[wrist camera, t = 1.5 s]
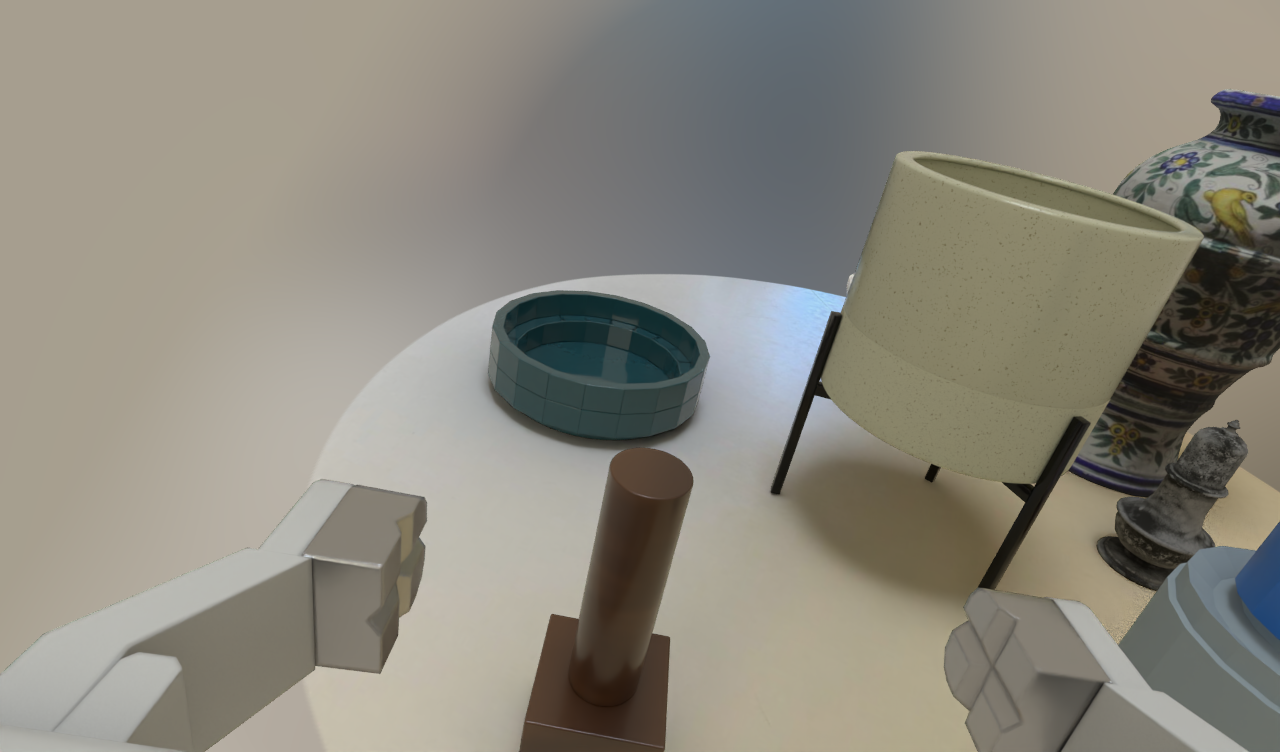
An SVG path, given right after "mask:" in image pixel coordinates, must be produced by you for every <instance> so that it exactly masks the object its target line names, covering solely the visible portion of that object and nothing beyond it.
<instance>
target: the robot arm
mask: <svg viewBox="0 0 1280 752" xmlns="http://www.w3.org/2000/svg"><path fill="white" fill-rule="evenodd" d="M426 522H427V501H426V499H425V498H424V497H421V496H416V495H410V494H405V493H399V492H394V491H389V490H383V489H378V488H372V487H367V486H361V485H353V484H349V483H343V482H337V481H331V480H326V479H320V480H318V481H315V482H314V483H312V484H311V486H310V487H309V488H308V489H307V491H306V492H305V493H304V494H303V496H302V497H301V498H300V499H299V500H298V501H297V503H296V504H295V505H294V506H293V507H292V509H291V510H290V511H289V512H288V513H287V515H286V516H285V517H284V518H283V519H282V521H281V522H280V523H279V524H278V526H277V527H276V528H275V529H274V530H273V532H272V533H271V534H270V535H269V536H268V538H267V539H266V540H265V541H264V543H263V544H262V545H261V546H260V547H259V548H258V549H254V548H245V549H242V550H240V551H238V552H235V553H233V554H231V555H228V556H226V557H223V558H221V559H219V560H216V561H214V562H212V563H209V564H207V565H204V566H202V567H200V568H197V569H195V570H193V571H190V572H188V573H186V574H183V575H181V576H179V577H176V578H174V579H172V580H169V581H167V582H164V583H162V584H160V585H157V586H155V587H153V588H150V589H148V590H146V591H143V592H141V593H138V594H136V595H134V596H132V597H129V598H127V599H124V600H122V601H120V602H117V603H115V604H113V605H110V606H108V607H105V608H103V609H101V610H98V611H96V612H94V613H92V614H89V615H87V616H84V617H82V618H79V619H77V620H75V621H73V622H70V623H68V624H65V625H63V626H61V627H58V628H56V629H54V630H51V631H49V632H46V633H44V634H43V635H42V636H41V637H40V638H39V639H37V640H36V641H35V642H34V643H33V644H32V645H31V646H30V647H29V648H28V649H27V650H26V651H24V652H23V653H22V654H21V655H20V656H19V657H18V658H17V659H16V660H15V661H14V662H13V663H12V664H10V665H9V666H8V667H7V668H6V669H5V670H4V671H3V672H2V673H1V674H0V752H205V751H206V750H208V749H209V748H210V747H212V746H213V745H214V744H216V743H217V742H218V741H220V740H221V739H222V738H224V737H225V736H226V735H228V734H229V733H230V732H232V731H233V730H234V729H236V728H237V727H239V726H240V725H241V724H242V723H244V722H245V721H247V720H248V719H249V718H251V717H252V716H253V715H254V714H256V713H257V712H258V711H260V710H261V709H263V708H264V707H265V706H267V705H268V704H269V703H271V702H272V701H273V700H275V699H276V698H277V697H279V696H280V695H282V694H283V693H284V692H285V691H287V690H288V689H290V688H291V687H292V686H293V685H295V684H296V683H298V682H299V681H300V680H302V679H303V678H304V677H306V676H307V675H308V674H310V673H311V672H312V671H314V670H315V666H322V667H330V668H338V669H346V670H354V671H362V672H370V673H379V674H380V673H381V671H382V669H383V667H384V665H385V662H386V660H387V658H388V656H389V654H390V652H391V650H392V647H393V645H394V643H395V641H396V639H397V637H398V627H399V617H401V616H402V615H404V614H406V613H407V612H409V611H410V609H411V606H412V604H413V602H414V599H415V597H416V594H417V591H418V588H419V584H420V581H421V577H422V572H423V566H424V560H425V545H424V543H423V542H422V541H421V539H420V538H419V536H420V534H421V532H422V530H423V528H424V526H425V524H426ZM963 608H964V611H965V613H966V616H967V619H968V621H966V622H965V623H963V624H962V625H960V626H958V627H957V628H955V629H954V630H952V633H951V635H950V637H949V640H948V642H947V644H946V647H945V657H944V669H945V675H946V680H947V683H948V685H949V688H950V690H951V692H952V695H953V696H954V697H955V698H956V699H957V700H958V701H959V702H960V703H961V704H962V705H963V706H964V707H966V708H967V709H968V710H969V713H968V716H967V719H966V721H965V724H966V726H967V729H968V731H969V733H970V735H971V738H972V740H973V742H974V744H975V746H976V749H977V751H978V752H1249V751H1247V750H1246V749H1244V748H1243V747H1242V746H1240V745H1239V744H1237V743H1236V742H1234V741H1233V740H1232V739H1230V738H1229V737H1227V736H1226V735H1224V734H1223V733H1221V732H1220V731H1219V730H1217V729H1216V728H1214V727H1213V726H1211V725H1210V724H1208V723H1207V722H1206V721H1204V720H1203V719H1201V718H1200V717H1198V716H1197V715H1195V714H1194V713H1193V712H1191V711H1190V710H1188V709H1187V708H1185V707H1184V706H1183V705H1181V704H1180V703H1178V702H1177V701H1175V700H1174V699H1172V698H1171V697H1170V696H1168V695H1167V694H1165V693H1164V692H1160V691H1154V690H1152V689H1151V688H1150V686H1149V685H1148V684H1147V683H1146V681H1145V680H1144V679H1143V677H1142V676H1141V675H1140V673H1139V672H1138V671H1137V669H1136V668H1135V667H1134V666H1133V664H1132V663H1131V662H1130V660H1129V659H1128V658H1127V656H1126V655H1125V654H1124V652H1123V651H1122V650H1121V649H1120V647H1119V646H1118V645H1117V643H1116V642H1115V641H1114V639H1113V638H1112V637H1111V635H1110V634H1109V633H1108V632H1107V630H1106V629H1105V628H1104V626H1103V625H1102V624H1101V622H1100V621H1099V620H1098V619H1097V617H1096V616H1095V615H1094V613H1093V612H1092V611H1091V609H1090V608H1089V607H1087V606H1085V605H1084V604H1082V603H1081V602H1079V601H1073V600H1065V599H1058V598H1050V597H1044V598H1042V597H1035V596H1029V595H1023V594H1016V593H1010V592H1004V591H997V590H991V589H985V588H977V589H976V590H975V591H974V592H972V593H971V594H970V596H969V597H968V599H967V601H966V603H965V605H964V607H963Z"/></svg>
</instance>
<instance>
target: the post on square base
mask: <svg viewBox="0 0 1280 752" xmlns="http://www.w3.org/2000/svg"><path fill="white" fill-rule="evenodd" d="M692 487H693V476H692V473H691V471H690V469H689V468H688V467H687V466H686V465H685V464H684V463H683V462H682V461H681V460H679V459H678V458H676V457H675V456H673V455H671V454H669V453H666V452H663V451H660V450H656V449H651V448H632V449H627V450H624V451H622V452H620V453H618V454H617V455H616V456H615V457H614V458H613V459H612V461H611V463H610V467H609V472H608V477H607V482H606V487H605V492H604V497H603V502H602V507H601V512H600V516H599V521H598V526H597V531H596V536H595V541H594V546H593V551H592V556H591V561H590V566H589V571H588V576H587V581H586V586H585V591H584V596H583V601H582V605H581V610H580V615H579V619H576V618H571V617H565V616H560V615H555V614H551V616H550V620H549V624H548V628H547V632H546V636H545V640H544V644H543V648H542V652H541V656H540V660H539V664H538V668H537V673H536V677H535V681H534V685H533V689H532V693H531V697H530V701H529V705H528V709H527V713H526V717H525V721H524V727H523V733H522V739H521V745H520V751H519V752H664V750H665V737H666V715H667V694H668V673H669V652H670V637H668V636H663V635H658V634H653V633H652V632H653V629H654V625H655V621H656V618H657V614H658V610H659V607H660V603H661V599H662V596H663V592H664V588H665V585H666V581H667V578H668V574H669V570H670V567H671V563H672V559H673V556H674V552H675V548H676V545H677V541H678V538H679V534H680V530H681V527H682V523H683V519H684V516H685V512H686V508H687V505H688V501H689V498H690V494H691V490H692Z"/></svg>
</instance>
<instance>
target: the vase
mask: <svg viewBox="0 0 1280 752" xmlns="http://www.w3.org/2000/svg"><path fill="white" fill-rule="evenodd" d="M1211 103H1213V104H1214V105H1215V106H1216V107H1217V108H1219V110H1220V113H1221V116H1220V121H1219V124H1218V126H1217V127H1216V129H1215V130H1213V131H1212V132H1211V133H1210V134H1209V135H1207V136H1205V137H1203V138H1201V139H1198V140H1195V141H1192V142H1189V143H1186V144H1182V145H1179V146H1176V147H1173V148H1170V149H1167V150H1165V151H1163V152H1161V153H1159V154H1156V155H1154V156H1152V157H1151V158H1149V159H1147V160H1146V161H1145V162H1143V163H1141V164H1139V165H1138V166H1137V167H1136V168H1135V169H1134V170H1133V171H1131V172H1130V173H1129V174H1128V175H1127V176H1126V177H1125V178H1124V180H1123V181H1122V182H1121V183H1120V185H1119V186H1118V188H1117V189H1116V190H1115V192H1114V194H1113V195H1116V196H1119V197H1122V198H1125V199H1128V200H1131V201H1134V202H1137V203H1140V204H1143V205H1146V206H1148V207H1151V208H1154V209H1157V210H1159V211H1162V212H1164V213H1167V214H1169V215H1172V216H1174V217H1176V218H1178V219H1181V220H1183V221H1185V222H1187V223H1189V224H1191V225H1192V226H1194V227H1196V228H1197V229H1199V230H1200V231H1201V232H1202V233H1203V235H1204V239H1203V241H1202V243H1201V244H1200V246H1199V248H1198V250H1197V251H1196V253H1195V255H1194V256H1193V258H1192V260H1191V262H1190V263H1189V265H1188V267H1187V269H1186V270H1185V272H1184V274H1183V275H1182V277H1181V279H1180V281H1179V282H1178V284H1177V286H1176V287H1175V289H1174V291H1173V293H1172V294H1171V296H1170V298H1169V299H1168V301H1167V303H1166V305H1165V306H1164V308H1163V310H1162V311H1161V313H1160V315H1159V317H1158V318H1157V320H1156V322H1155V323H1154V325H1153V327H1152V329H1151V330H1150V332H1149V334H1148V335H1147V337H1146V339H1145V341H1144V342H1143V344H1142V346H1141V347H1140V349H1139V351H1138V353H1137V354H1136V356H1135V358H1134V359H1133V361H1132V363H1131V365H1130V366H1129V368H1128V370H1127V371H1126V373H1125V375H1124V377H1123V378H1122V380H1121V382H1120V383H1119V385H1118V387H1117V389H1116V390H1115V392H1114V394H1113V395H1112V397H1111V399H1110V401H1109V402H1108V404H1107V406H1106V407H1105V409H1104V411H1103V413H1102V414H1101V416H1100V418H1099V420H1098V421H1097V423H1096V425H1095V426H1094V428H1093V430H1092V432H1091V433H1090V435H1089V437H1088V438H1087V440H1086V442H1085V444H1084V445H1083V447H1082V449H1081V450H1080V452H1079V454H1078V456H1077V457H1076V459H1075V461H1074V462H1073V464H1072V466H1071V467H1070V469H1069V471H1071V472H1073V473H1075V474H1077V475H1079V476H1080V477H1083V478H1085V479H1087V480H1089V481H1092V482H1094V483H1097V484H1099V485H1102V486H1104V487H1107V488H1110V489H1114V490H1117V491H1120V492H1124V493H1127V494H1131V495H1135V496H1143V497H1149V496H1150V495H1152V494H1153V493H1154V492H1155V491H1156V490H1157V488H1158V487H1159V485H1160V484H1161V482H1162V481H1163V479H1164V478H1165V476H1166V475H1167V472H1166V470H1165V466H1166V465H1167V464H1169V463H1176V462H1177V459H1178V455H1179V451H1180V448H1181V444H1182V441H1183V438H1184V436H1185V434H1186V432H1187V430H1188V429H1189V428H1190V427H1191V426H1192V424H1193V423H1194V422H1195V421H1196V420H1197V419H1198V418H1199V417H1200V416H1201V415H1203V414H1204V413H1205V412H1207V411H1208V410H1210V409H1211V408H1212V407H1213V405H1214V403H1215V400H1216V399H1217V398H1218V396H1219V395H1220V394H1221V393H1223V392H1224V391H1225V390H1226V389H1227V388H1228V387H1230V386H1231V385H1232V384H1233V383H1234V382H1236V381H1237V380H1238V379H1240V378H1241V377H1242V376H1244V375H1245V374H1246V373H1248V372H1249V371H1251V370H1253V369H1255V368H1258V367H1263V366H1265V365H1268V364H1270V362H1271V360H1272V356H1273V355H1274V353H1275V352H1276V351H1277V350H1278V349H1279V348H1280V97H1276V96H1271V95H1265V94H1258V93H1253V92H1247V91H1240V90H1231V89H1229V90H1223V91H1220V92H1219V93H1217V94H1216V95H1214V96H1213V97H1212V99H1211Z"/></svg>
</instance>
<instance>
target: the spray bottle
mask: <svg viewBox="0 0 1280 752" xmlns="http://www.w3.org/2000/svg"><path fill="white" fill-rule="evenodd" d="M1118 646H1119V647H1120V649H1121V650H1122V651H1123V652H1124V654H1125V655H1126V656H1127V658H1128V659H1129V660H1130V662H1131V663H1132V664H1133V666H1134V667H1135V668H1136V669H1137V671H1138V672H1139V673H1140V675H1141V676H1142V677H1143V679H1144V680H1145V681H1146V683H1147V684H1148V685H1149V686H1150V688H1151V689H1152V690H1154V691H1160V692H1164V693H1165V694H1167V695H1168V696H1170V697H1171V698H1172V699H1174V700H1175V701H1177V702H1178V703H1180V704H1181V705H1183V706H1184V707H1185V708H1187V709H1188V710H1190V711H1191V712H1193V713H1194V714H1195V715H1197V716H1198V717H1200V718H1201V719H1203V720H1204V721H1206V722H1207V723H1208V724H1210V725H1211V726H1213V727H1214V728H1216V729H1217V730H1219V731H1220V732H1221V733H1223V734H1224V735H1226V736H1227V737H1229V738H1230V739H1232V740H1233V741H1234V742H1236V743H1237V744H1239V745H1240V746H1242V747H1243V748H1244V749H1246V750H1247V751H1249V752H1280V522H1279V523H1278V524H1277V525H1276V527H1275V528H1274V529H1273V531H1272V532H1271V533H1270V534H1269V536H1268V537H1267V538H1266V539H1265V541H1264V542H1263V543H1262V545H1261V546H1260V547H1259V548H1258V550H1257V551H1255V550H1248V549H1241V548H1233V547H1226V546H1219V547H1213V548H1206V549H1200V550H1198V551H1197V553H1196V554H1195V555H1194V556H1193V557H1192V558H1191V559H1190V560H1189V561H1188V562H1187V563H1182V564H1179V566H1178V567H1177V568H1176V569H1175V570H1174V571H1173V572H1172V573H1171V574H1170V575H1169V576H1168V577H1167V578H1166V580H1165V581H1164V582H1163V584H1162V585H1161V586H1160V588H1159V589H1158V591H1157V592H1156V593H1155V595H1154V596H1153V598H1152V599H1151V600H1150V602H1149V603H1148V604H1147V606H1146V607H1145V609H1144V610H1143V611H1142V613H1141V614H1140V615H1139V617H1138V618H1137V620H1136V621H1135V622H1134V624H1133V625H1132V627H1131V628H1130V629H1129V631H1128V632H1127V633H1126V635H1125V636H1124V638H1123V639H1122V640H1121V642H1120V643H1119V644H1118Z"/></svg>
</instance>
